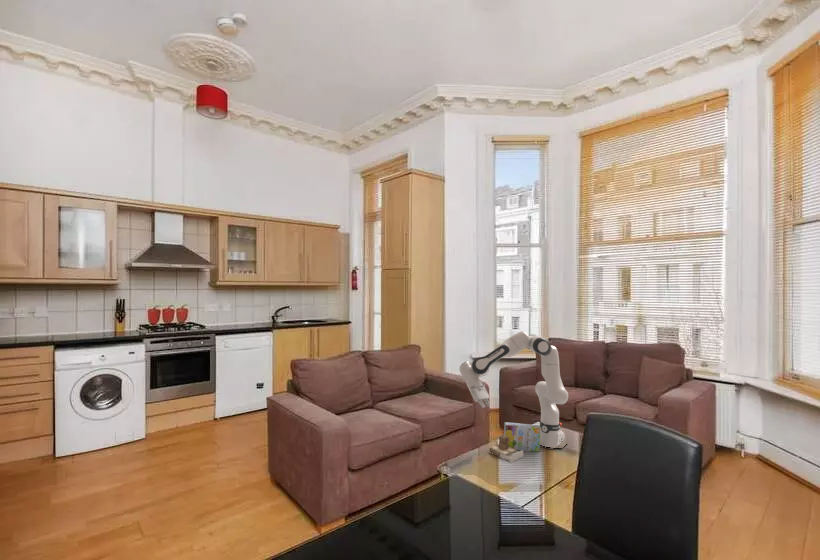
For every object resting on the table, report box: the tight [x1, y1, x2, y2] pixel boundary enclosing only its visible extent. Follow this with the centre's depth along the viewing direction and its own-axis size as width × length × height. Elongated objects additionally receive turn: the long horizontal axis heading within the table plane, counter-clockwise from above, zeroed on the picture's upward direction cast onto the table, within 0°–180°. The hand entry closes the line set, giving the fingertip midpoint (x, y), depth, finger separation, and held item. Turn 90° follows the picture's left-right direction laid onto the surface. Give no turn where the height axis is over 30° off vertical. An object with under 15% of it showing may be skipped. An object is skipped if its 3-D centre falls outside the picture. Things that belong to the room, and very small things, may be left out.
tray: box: [499, 450, 524, 463], centre depth 241 cm, size 12×8×4 cm, turn 132°
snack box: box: [503, 421, 541, 453], centre depth 255 cm, size 21×6×15 cm, turn 84°
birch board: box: [489, 443, 518, 458], centre depth 246 cm, size 12×11×3 cm
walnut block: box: [498, 434, 509, 450], centre depth 246 cm, size 4×4×7 cm
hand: (486, 406), depth 253 cm, fingers open, 8 cm apart
